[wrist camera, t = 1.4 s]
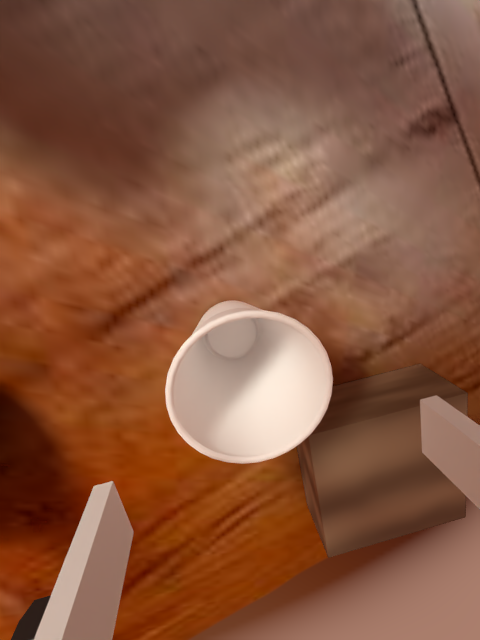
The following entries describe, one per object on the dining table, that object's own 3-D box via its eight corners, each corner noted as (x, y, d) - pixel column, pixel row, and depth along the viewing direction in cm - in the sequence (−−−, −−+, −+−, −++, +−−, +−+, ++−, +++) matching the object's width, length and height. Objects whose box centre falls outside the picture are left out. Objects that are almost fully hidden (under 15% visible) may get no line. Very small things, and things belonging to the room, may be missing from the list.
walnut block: (287, 397, 32) (308, 435, 26) (420, 363, 33) (467, 392, 27) (307, 505, 36) (328, 557, 31) (423, 472, 37) (465, 517, 31)
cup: (299, 295, 29) (359, 335, 19) (265, 391, 31) (301, 475, 21) (191, 263, 27) (190, 289, 17) (163, 369, 29) (146, 450, 19)
